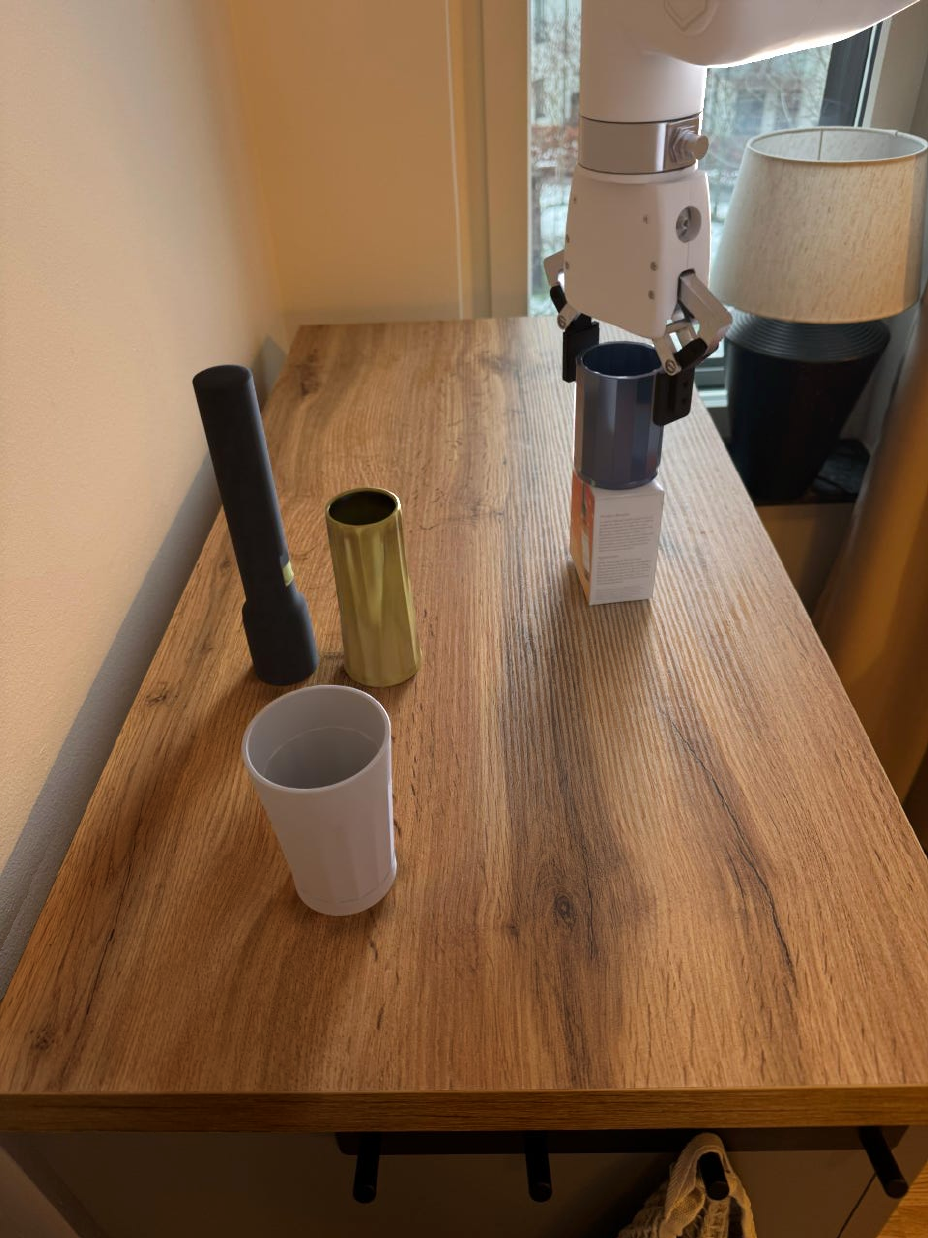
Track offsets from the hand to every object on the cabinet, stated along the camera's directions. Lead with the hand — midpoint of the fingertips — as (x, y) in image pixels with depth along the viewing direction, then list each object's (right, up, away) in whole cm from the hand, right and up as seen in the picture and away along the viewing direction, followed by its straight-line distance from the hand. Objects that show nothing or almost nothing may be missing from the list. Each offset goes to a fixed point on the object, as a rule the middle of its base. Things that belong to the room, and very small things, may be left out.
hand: (623, 397), depth 68 cm
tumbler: (0, -5, +4) cm, 6 cm away
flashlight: (-26, -20, +4) cm, 33 cm away
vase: (-18, -20, +3) cm, 27 cm away
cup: (-19, -32, -12) cm, 39 cm away
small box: (+1, -13, +11) cm, 17 cm away
